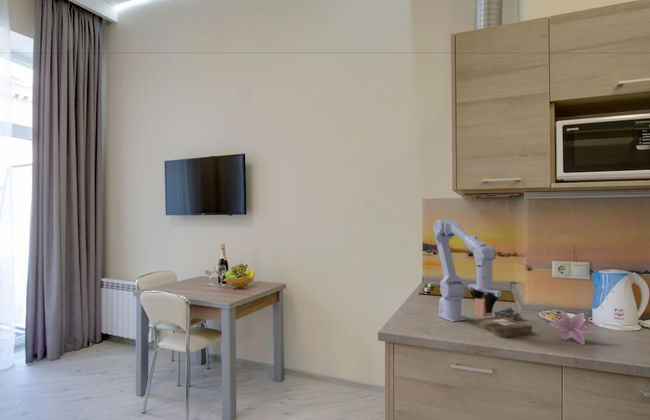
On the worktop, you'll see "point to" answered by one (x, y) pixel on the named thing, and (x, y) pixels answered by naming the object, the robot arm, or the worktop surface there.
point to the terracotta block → (480, 307)
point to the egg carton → (507, 313)
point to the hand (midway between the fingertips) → (483, 310)
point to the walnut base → (504, 326)
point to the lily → (572, 327)
